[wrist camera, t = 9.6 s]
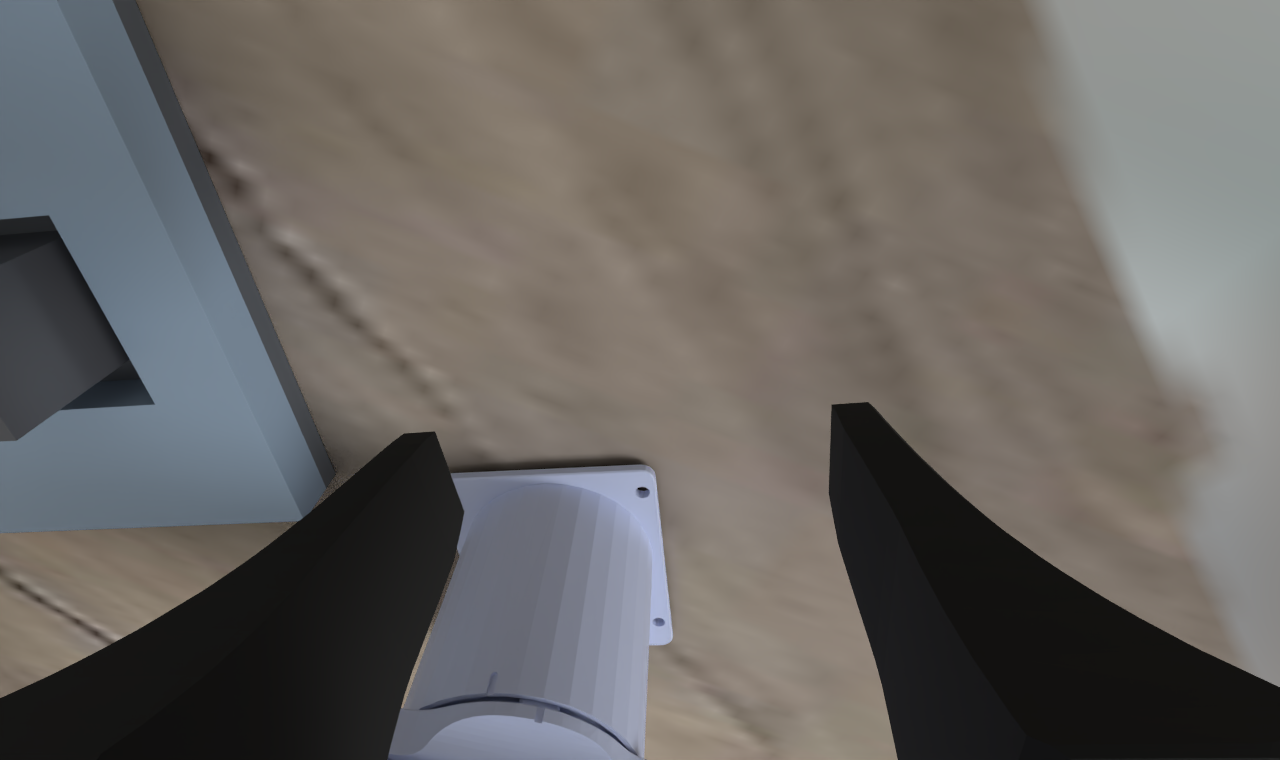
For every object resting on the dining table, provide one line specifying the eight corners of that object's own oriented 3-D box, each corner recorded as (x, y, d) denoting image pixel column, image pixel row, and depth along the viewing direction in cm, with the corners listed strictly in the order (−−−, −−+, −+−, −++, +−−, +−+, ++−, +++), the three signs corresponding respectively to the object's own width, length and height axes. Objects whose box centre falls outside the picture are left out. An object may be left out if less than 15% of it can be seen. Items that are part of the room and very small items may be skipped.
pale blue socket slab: (335, 474, 25) (304, 521, 23) (43, 488, 26) (-12, 533, 24) (126, -19, 17) (48, -16, 15) (-285, 31, 18) (-413, 40, 16)
